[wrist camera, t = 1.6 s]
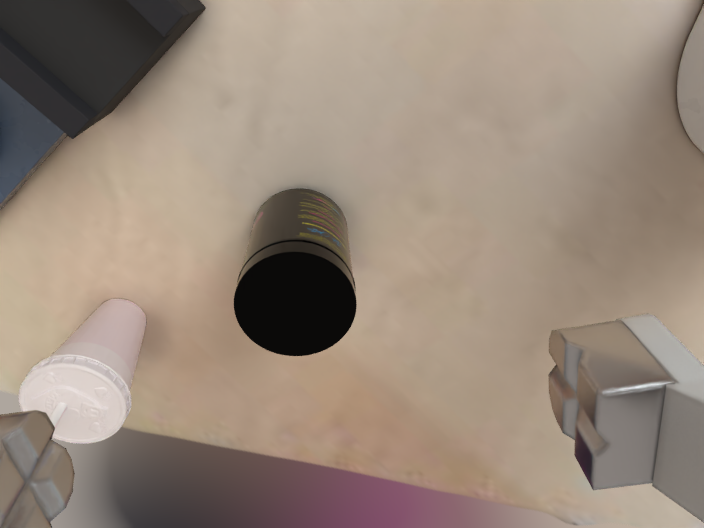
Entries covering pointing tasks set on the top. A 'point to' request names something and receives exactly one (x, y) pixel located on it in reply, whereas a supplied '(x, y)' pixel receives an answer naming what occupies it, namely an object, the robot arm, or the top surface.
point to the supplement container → (297, 275)
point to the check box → (22, 141)
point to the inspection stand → (85, 52)
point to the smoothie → (89, 375)
